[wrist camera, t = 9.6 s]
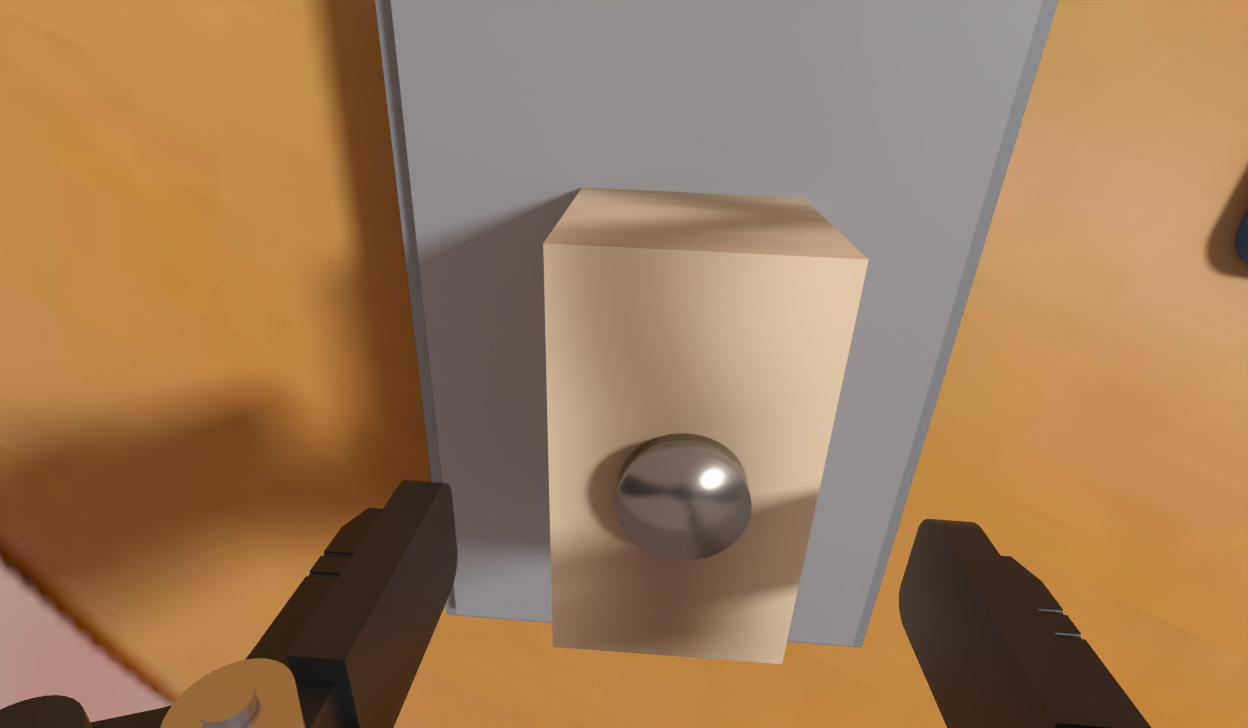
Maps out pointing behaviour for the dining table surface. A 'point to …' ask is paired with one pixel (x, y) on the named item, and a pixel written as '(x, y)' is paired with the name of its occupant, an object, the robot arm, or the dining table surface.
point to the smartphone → (1242, 239)
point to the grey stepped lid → (700, 163)
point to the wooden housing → (689, 414)
